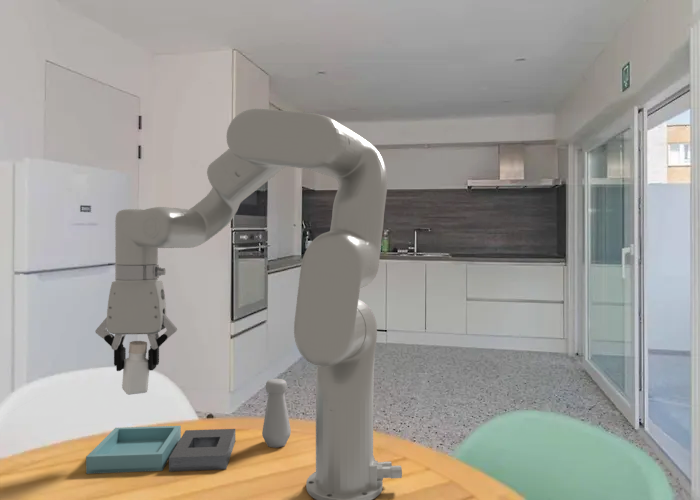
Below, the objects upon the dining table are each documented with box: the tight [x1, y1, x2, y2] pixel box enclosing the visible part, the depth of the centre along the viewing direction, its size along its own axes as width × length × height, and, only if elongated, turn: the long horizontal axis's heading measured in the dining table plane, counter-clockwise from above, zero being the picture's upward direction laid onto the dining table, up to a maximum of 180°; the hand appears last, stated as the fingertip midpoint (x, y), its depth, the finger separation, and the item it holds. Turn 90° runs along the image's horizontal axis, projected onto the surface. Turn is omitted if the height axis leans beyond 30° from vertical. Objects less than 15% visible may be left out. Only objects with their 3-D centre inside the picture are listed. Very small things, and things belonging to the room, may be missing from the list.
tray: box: [85, 425, 182, 475], centre depth 101 cm, size 13×15×3 cm
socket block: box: [168, 428, 236, 473], centre depth 102 cm, size 10×14×2 cm
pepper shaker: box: [121, 340, 150, 395], centre depth 101 cm, size 4×4×10 cm
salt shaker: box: [261, 378, 291, 449], centre depth 107 cm, size 6×6×13 cm
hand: (136, 368), depth 101 cm, fingers closed on pepper shaker, 5 cm apart
